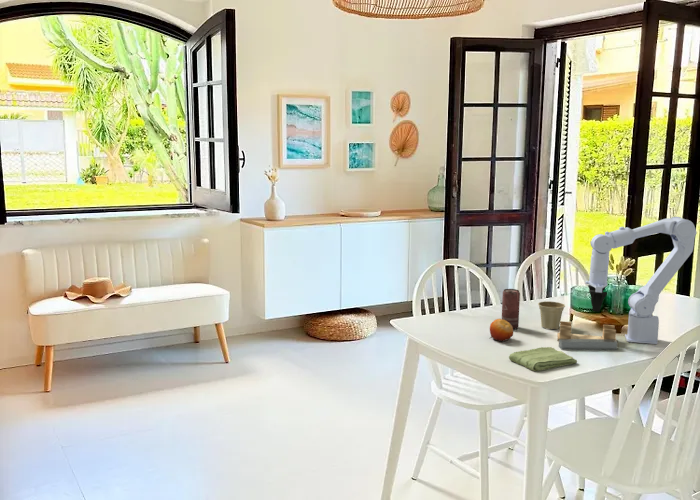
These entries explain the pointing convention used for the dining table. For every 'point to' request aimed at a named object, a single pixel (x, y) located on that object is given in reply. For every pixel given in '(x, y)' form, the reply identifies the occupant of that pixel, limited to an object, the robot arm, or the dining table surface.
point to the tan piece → (566, 334)
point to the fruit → (501, 330)
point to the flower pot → (550, 314)
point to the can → (511, 307)
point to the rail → (588, 344)
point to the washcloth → (542, 358)
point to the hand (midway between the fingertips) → (595, 308)
